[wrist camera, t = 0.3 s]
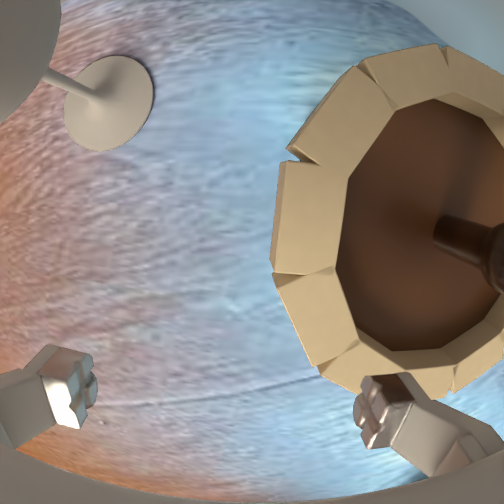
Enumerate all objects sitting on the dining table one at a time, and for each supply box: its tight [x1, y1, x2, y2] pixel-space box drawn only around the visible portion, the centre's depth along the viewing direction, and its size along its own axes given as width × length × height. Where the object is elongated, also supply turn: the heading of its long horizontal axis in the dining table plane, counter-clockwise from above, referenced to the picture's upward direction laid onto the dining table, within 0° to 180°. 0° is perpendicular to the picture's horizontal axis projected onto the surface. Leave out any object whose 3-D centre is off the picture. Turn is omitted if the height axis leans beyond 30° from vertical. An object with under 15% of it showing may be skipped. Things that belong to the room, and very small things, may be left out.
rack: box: [300, 99, 504, 351], centre depth 14 cm, size 13×13×15 cm
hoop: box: [270, 44, 504, 400], centre depth 11 cm, size 15×15×2 cm
